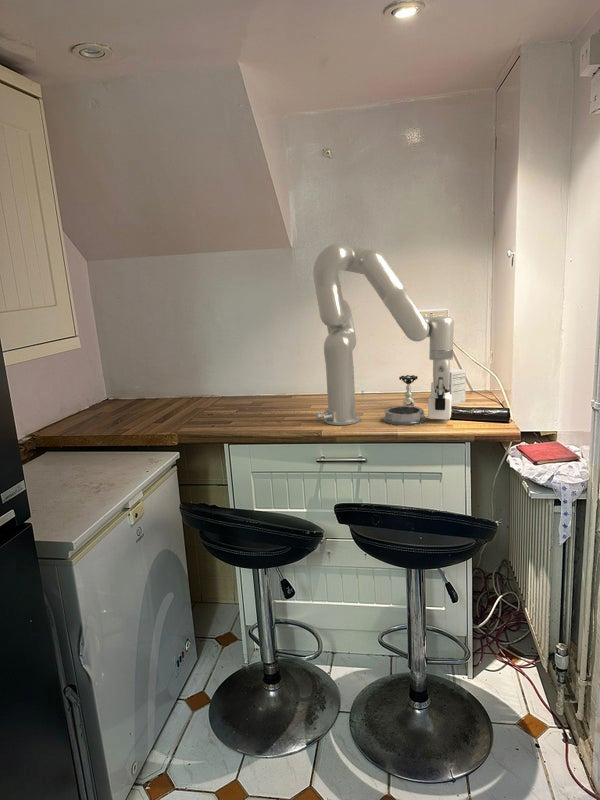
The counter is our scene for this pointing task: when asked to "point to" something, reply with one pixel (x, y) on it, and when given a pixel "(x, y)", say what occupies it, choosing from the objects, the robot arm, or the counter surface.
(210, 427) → the counter surface
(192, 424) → the counter surface
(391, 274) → the robot arm
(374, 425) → the counter surface
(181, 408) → the counter surface
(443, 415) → the medicine bottle
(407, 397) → the valve
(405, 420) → the ring collar
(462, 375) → the supplement box
